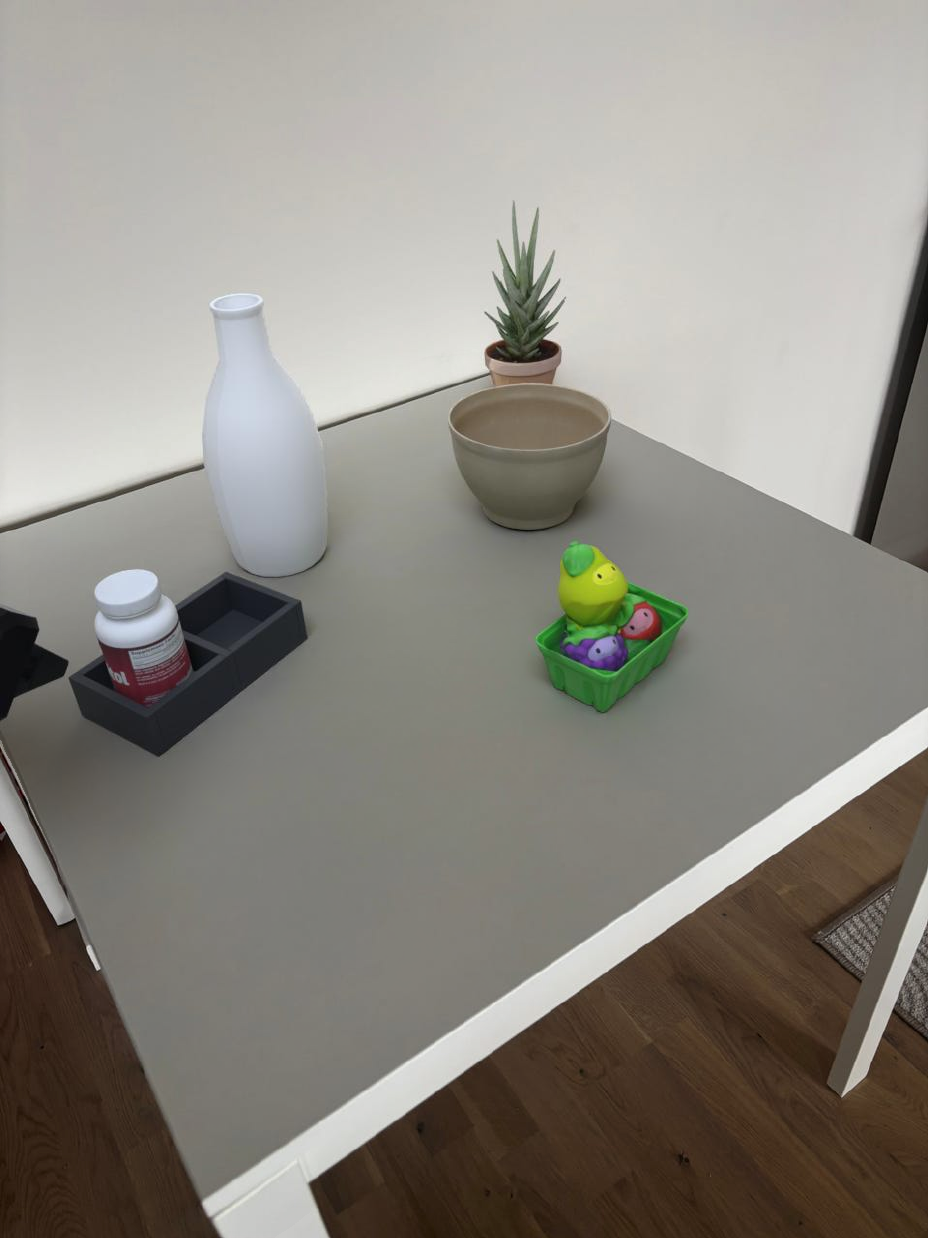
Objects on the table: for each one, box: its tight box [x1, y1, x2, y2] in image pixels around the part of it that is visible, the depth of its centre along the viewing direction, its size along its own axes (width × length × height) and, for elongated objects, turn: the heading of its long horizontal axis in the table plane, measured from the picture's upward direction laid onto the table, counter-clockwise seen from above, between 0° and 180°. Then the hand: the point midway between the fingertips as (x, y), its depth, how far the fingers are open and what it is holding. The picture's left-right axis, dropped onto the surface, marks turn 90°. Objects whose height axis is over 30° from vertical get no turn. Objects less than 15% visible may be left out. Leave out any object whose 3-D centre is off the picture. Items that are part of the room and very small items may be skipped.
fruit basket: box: [534, 540, 690, 713], centre depth 77 cm, size 11×9×11 cm
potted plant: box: [483, 199, 567, 387], centre depth 117 cm, size 10×10×25 cm
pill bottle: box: [93, 568, 194, 708], centre depth 76 cm, size 6×6×11 cm
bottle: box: [201, 292, 329, 578], centre depth 90 cm, size 11×11×25 cm
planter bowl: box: [447, 383, 612, 531], centre depth 99 cm, size 16×16×11 cm
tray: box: [68, 571, 308, 757], centre depth 81 cm, size 17×9×4 cm, turn 146°
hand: (16, 647), depth 64 cm, fingers open, 9 cm apart
